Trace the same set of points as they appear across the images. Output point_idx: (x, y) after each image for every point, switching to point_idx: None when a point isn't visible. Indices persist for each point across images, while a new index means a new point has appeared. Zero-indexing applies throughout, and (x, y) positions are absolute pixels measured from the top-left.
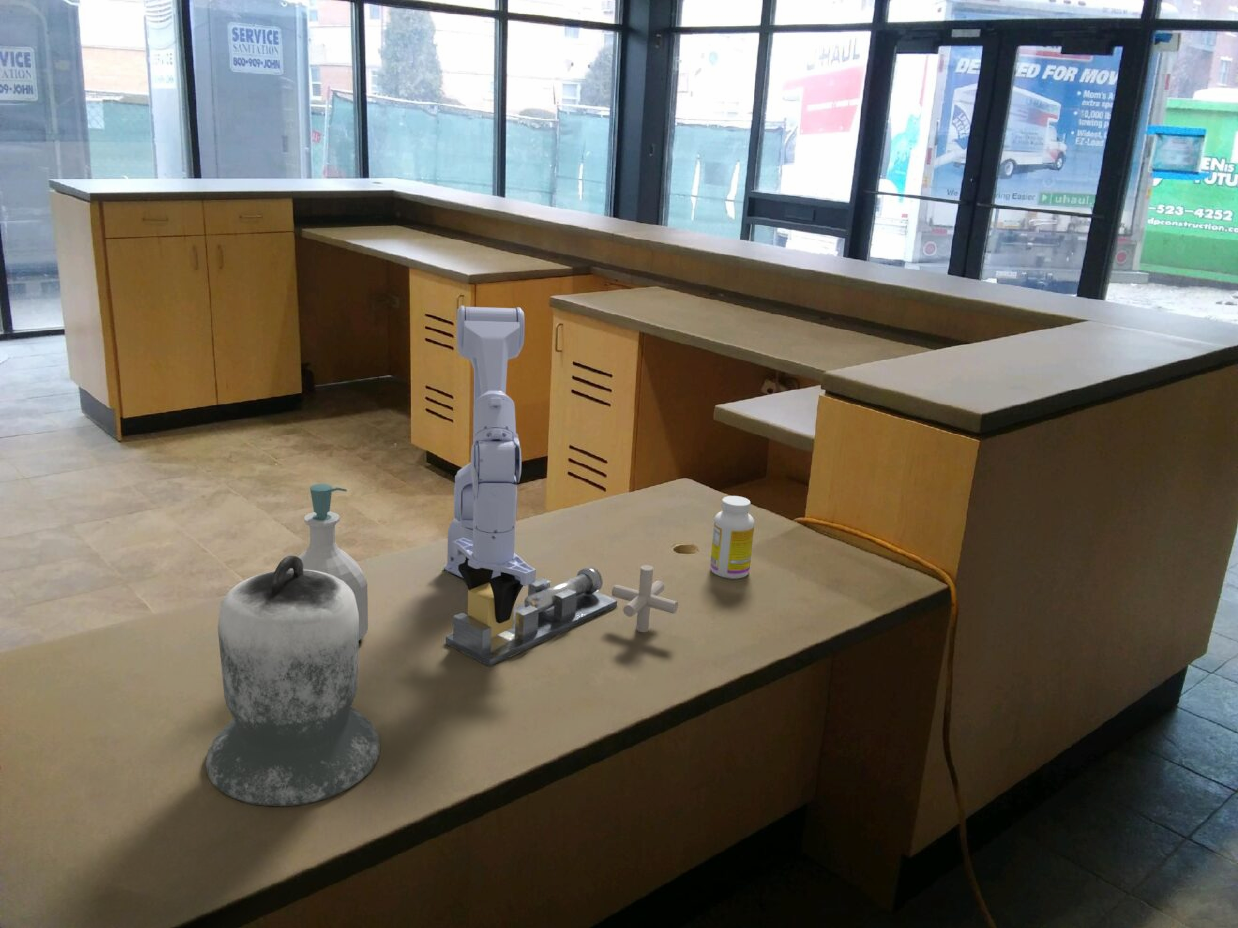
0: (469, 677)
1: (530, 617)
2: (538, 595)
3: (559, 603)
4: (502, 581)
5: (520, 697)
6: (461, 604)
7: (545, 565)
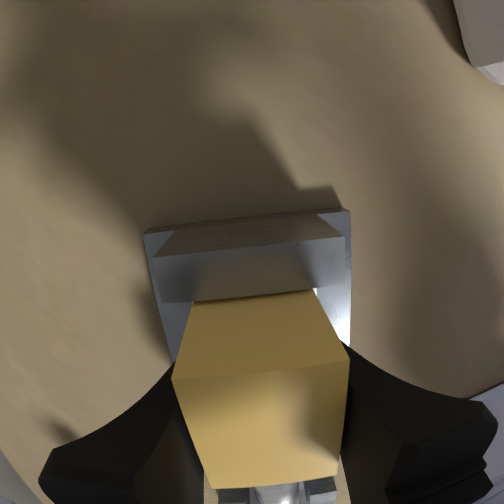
0: (131, 147)
1: None
2: (270, 486)
3: (228, 490)
4: (69, 500)
5: (7, 206)
6: (446, 349)
7: None
